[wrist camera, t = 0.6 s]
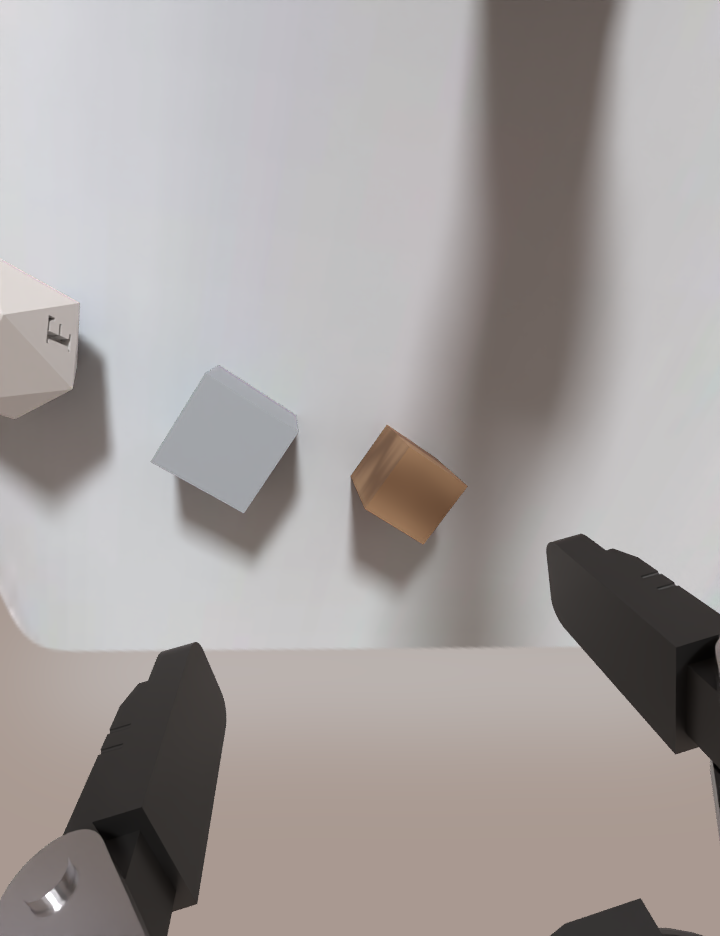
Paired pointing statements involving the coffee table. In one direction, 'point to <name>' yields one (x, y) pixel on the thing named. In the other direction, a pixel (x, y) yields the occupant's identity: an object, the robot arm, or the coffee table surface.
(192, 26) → the coffee table surface
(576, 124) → the coffee table surface
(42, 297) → the die
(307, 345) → the coffee table surface
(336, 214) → the coffee table surface
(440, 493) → the walnut block
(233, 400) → the grey block
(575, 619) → the robot arm
